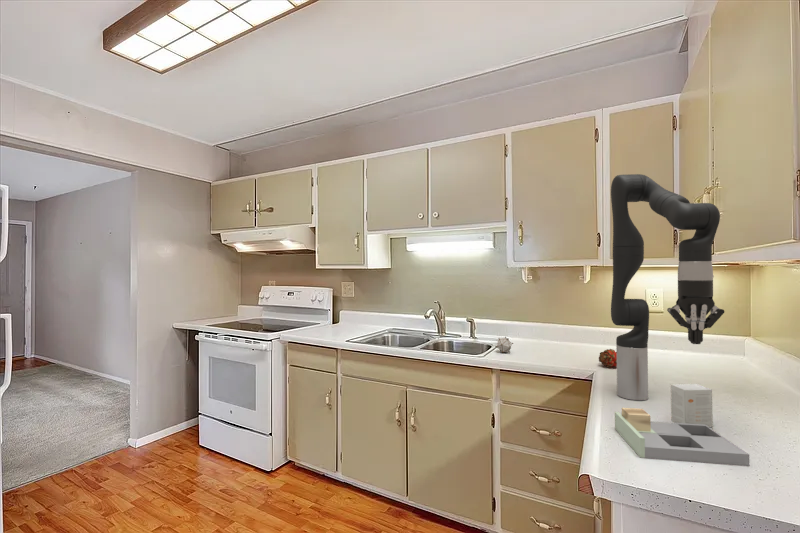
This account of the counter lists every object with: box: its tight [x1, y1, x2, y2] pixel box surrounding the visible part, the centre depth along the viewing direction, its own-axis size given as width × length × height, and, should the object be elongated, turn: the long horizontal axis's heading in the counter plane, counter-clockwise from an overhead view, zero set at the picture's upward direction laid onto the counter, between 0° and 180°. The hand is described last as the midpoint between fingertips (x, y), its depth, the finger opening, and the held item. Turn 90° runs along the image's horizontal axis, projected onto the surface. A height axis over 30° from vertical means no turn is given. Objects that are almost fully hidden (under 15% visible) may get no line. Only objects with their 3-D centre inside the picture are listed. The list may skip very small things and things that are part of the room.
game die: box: [494, 336, 514, 354], centre depth 206 cm, size 9×8×10 cm
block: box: [621, 407, 652, 432], centre depth 103 cm, size 5×5×4 cm
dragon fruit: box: [598, 348, 617, 369], centre depth 175 cm, size 8×8×12 cm
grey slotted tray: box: [614, 411, 750, 467], centre depth 98 cm, size 17×22×4 cm
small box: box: [670, 383, 714, 428], centre depth 111 cm, size 8×6×10 cm
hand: (695, 343), depth 105 cm, fingers closed
